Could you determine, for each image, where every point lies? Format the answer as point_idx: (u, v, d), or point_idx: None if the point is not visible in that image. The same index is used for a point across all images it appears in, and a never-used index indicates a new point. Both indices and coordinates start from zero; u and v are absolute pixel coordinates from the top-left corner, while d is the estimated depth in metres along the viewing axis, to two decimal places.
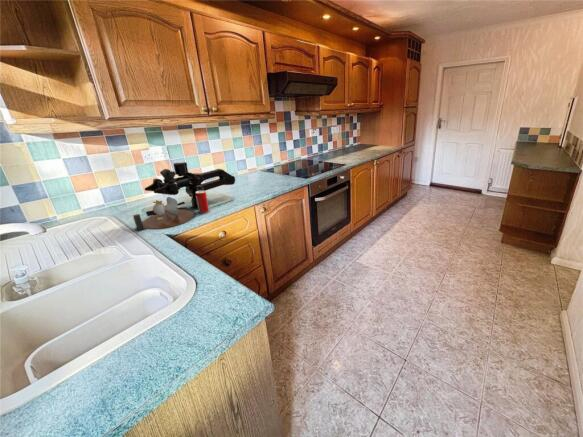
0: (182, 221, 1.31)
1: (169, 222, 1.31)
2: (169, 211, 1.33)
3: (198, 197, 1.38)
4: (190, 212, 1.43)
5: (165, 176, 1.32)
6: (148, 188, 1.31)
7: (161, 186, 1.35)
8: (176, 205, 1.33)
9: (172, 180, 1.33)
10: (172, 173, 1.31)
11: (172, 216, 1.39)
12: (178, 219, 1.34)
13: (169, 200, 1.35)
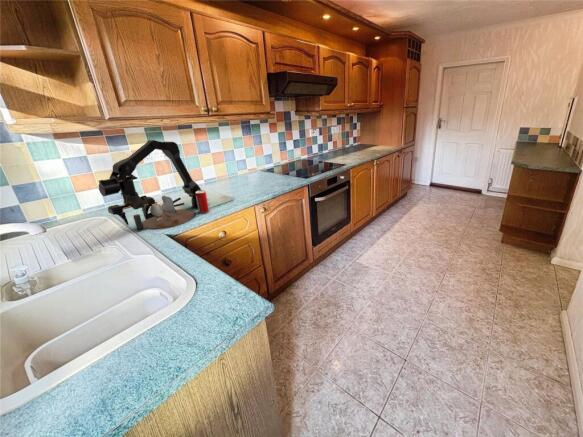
0: (182, 221, 1.31)
1: (169, 222, 1.31)
2: (166, 210, 1.32)
3: (198, 197, 1.38)
4: (190, 212, 1.43)
5: None
6: None
7: None
8: (172, 203, 1.31)
9: None
10: None
11: (172, 216, 1.39)
12: (178, 219, 1.34)
13: (164, 199, 1.34)
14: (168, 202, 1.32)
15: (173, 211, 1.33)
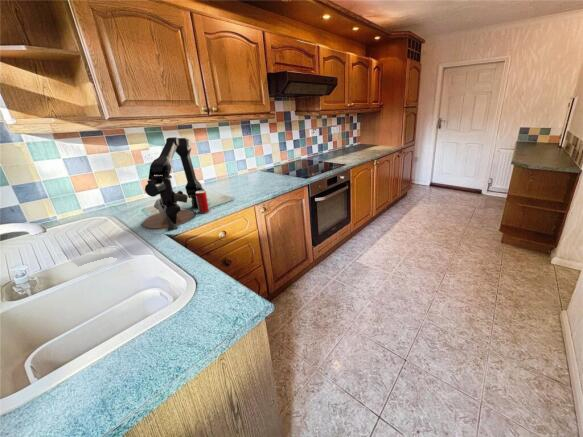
0: (190, 213, 1.42)
1: (181, 217, 1.36)
2: None
3: (198, 197, 1.38)
4: None
5: None
6: None
7: None
8: None
9: None
10: None
11: None
12: (181, 214, 1.40)
13: None
14: None
15: None
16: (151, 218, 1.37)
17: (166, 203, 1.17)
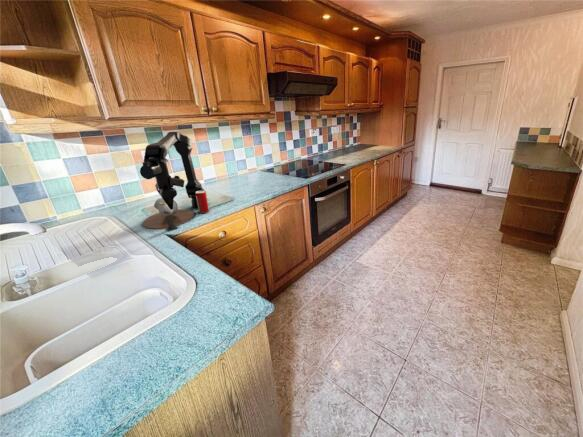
0: (190, 213, 1.42)
1: (181, 217, 1.36)
2: None
3: (198, 197, 1.38)
4: None
5: None
6: None
7: None
8: (174, 202, 1.39)
9: None
10: None
11: None
12: (181, 214, 1.40)
13: (163, 200, 1.35)
14: None
15: (176, 209, 1.39)
16: (151, 218, 1.37)
17: (162, 187, 1.14)
